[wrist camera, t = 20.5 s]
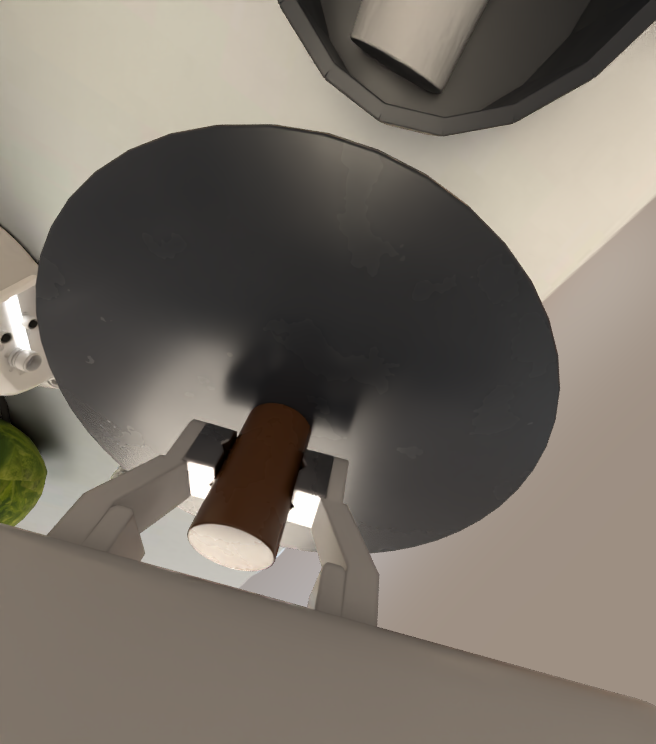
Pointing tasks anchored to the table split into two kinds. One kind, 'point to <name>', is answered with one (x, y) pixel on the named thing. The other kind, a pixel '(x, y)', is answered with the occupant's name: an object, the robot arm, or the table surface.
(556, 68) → the pot
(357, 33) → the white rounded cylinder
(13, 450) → the lettuce
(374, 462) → the pot lid
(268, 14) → the table surface
